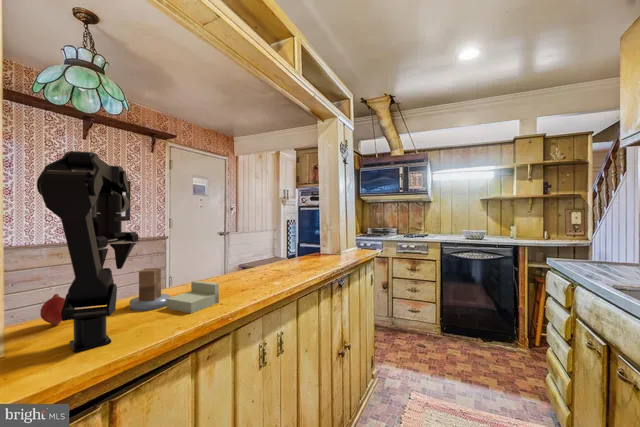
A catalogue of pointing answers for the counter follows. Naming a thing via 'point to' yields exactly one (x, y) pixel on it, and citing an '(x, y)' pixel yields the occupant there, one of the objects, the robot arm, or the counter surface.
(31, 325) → the counter surface
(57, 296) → the onion
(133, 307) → the disc
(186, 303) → the ledge
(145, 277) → the walnut block
